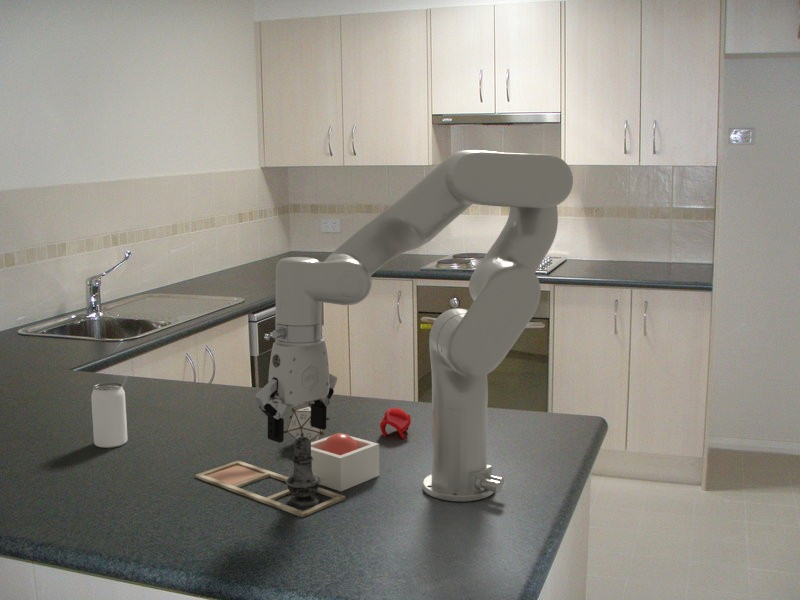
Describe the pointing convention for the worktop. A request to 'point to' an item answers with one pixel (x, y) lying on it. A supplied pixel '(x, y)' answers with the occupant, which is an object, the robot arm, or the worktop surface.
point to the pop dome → (339, 444)
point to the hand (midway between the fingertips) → (297, 434)
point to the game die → (303, 424)
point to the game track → (245, 474)
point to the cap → (396, 421)
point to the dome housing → (345, 464)
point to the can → (109, 415)
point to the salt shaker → (303, 475)
